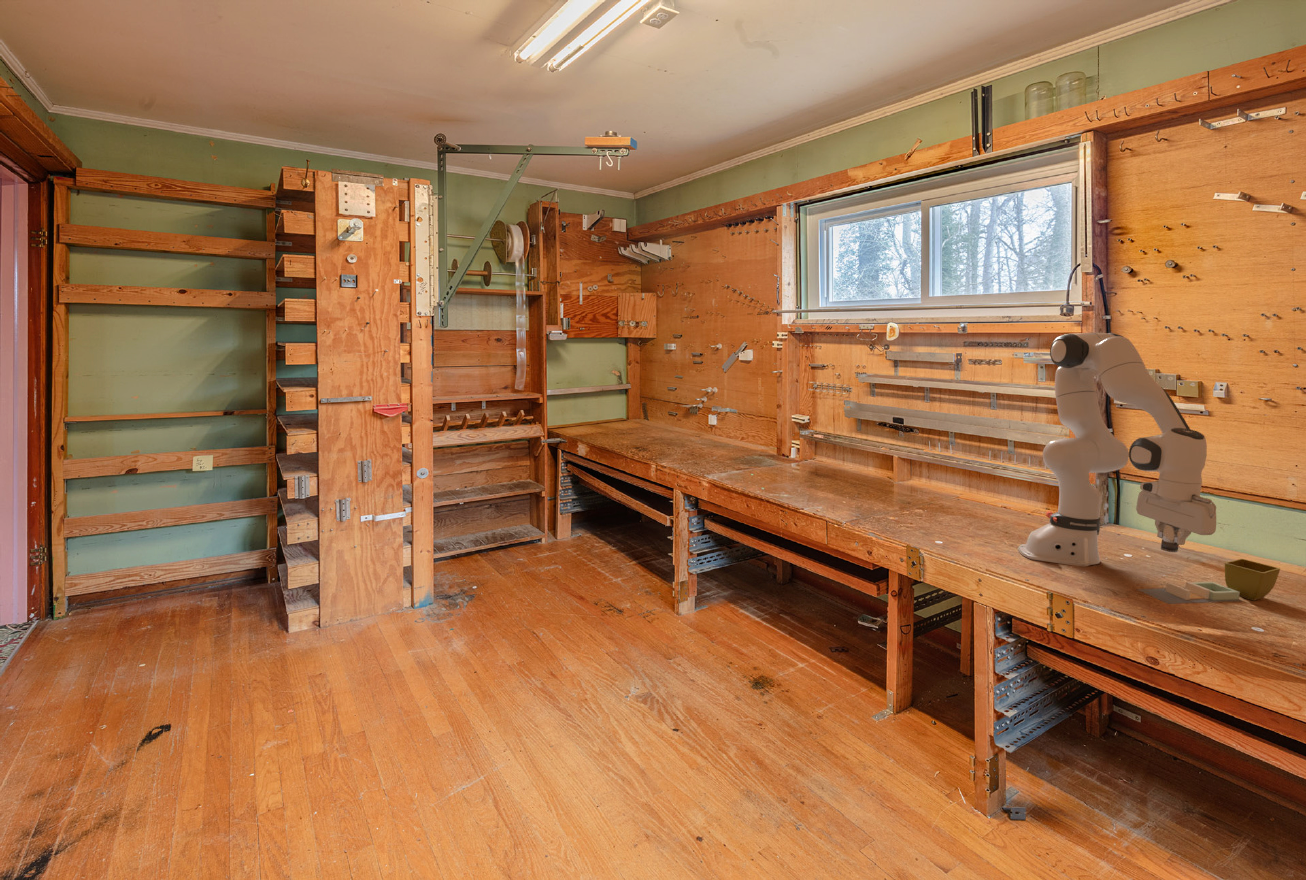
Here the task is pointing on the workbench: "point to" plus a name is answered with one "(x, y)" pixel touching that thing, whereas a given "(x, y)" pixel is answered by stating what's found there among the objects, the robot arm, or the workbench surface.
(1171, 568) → the workbench surface
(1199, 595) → the cradle
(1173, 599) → the board
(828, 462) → the workbench surface
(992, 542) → the workbench surface
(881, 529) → the workbench surface
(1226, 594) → the pale green flat frame
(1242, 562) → the flower pot
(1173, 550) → the cell
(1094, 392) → the robot arm
